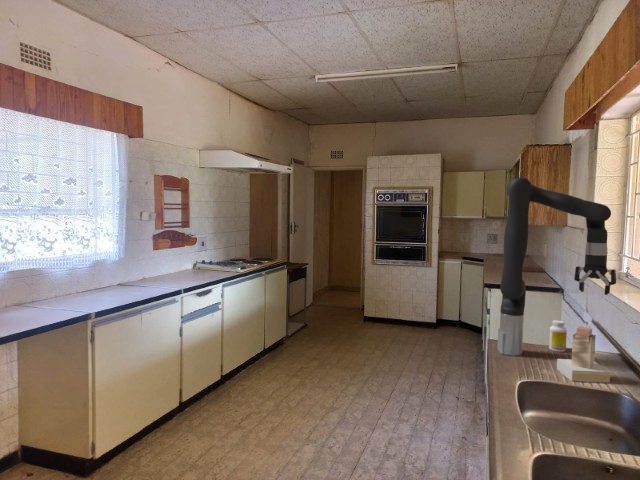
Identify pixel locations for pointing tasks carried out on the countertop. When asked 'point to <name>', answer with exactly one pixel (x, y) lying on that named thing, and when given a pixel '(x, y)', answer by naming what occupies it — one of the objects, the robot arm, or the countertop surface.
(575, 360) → the box
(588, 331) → the block
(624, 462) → the countertop surface
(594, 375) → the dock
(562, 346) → the supplement bottle
